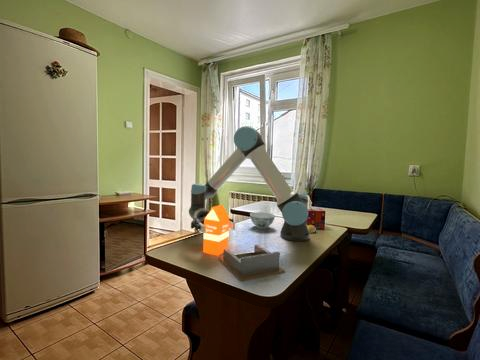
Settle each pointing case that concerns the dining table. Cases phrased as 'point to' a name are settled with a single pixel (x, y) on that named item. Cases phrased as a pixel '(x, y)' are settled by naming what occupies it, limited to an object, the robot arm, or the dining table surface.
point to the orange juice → (216, 231)
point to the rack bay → (252, 263)
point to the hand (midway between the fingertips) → (219, 228)
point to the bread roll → (311, 228)
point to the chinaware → (262, 219)
